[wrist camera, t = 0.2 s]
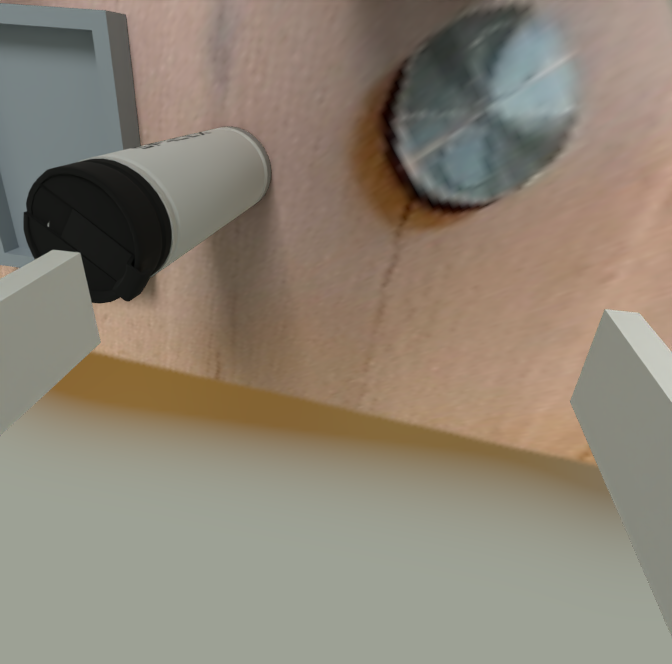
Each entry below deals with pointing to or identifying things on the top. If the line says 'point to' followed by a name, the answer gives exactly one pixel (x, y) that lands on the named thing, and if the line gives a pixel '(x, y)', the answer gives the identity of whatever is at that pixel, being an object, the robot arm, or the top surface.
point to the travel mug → (144, 205)
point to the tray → (58, 102)
